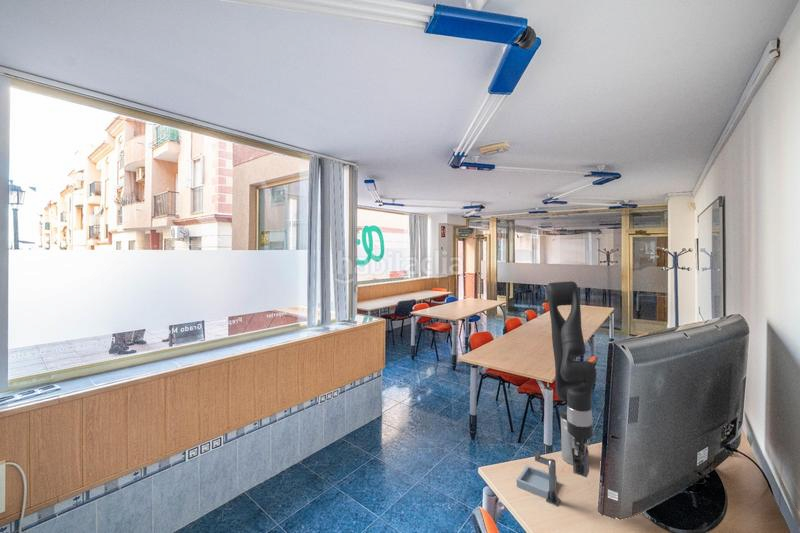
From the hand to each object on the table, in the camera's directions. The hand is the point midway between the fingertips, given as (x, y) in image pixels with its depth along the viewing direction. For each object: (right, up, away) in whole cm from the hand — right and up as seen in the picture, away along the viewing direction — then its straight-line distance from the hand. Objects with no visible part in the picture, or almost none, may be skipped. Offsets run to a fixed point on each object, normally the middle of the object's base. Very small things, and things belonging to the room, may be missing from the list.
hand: (581, 469), depth 111 cm
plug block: (0, -1, 0) cm, 1 cm away
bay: (-10, -13, +11) cm, 20 cm away
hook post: (-10, -13, +4) cm, 16 cm away
